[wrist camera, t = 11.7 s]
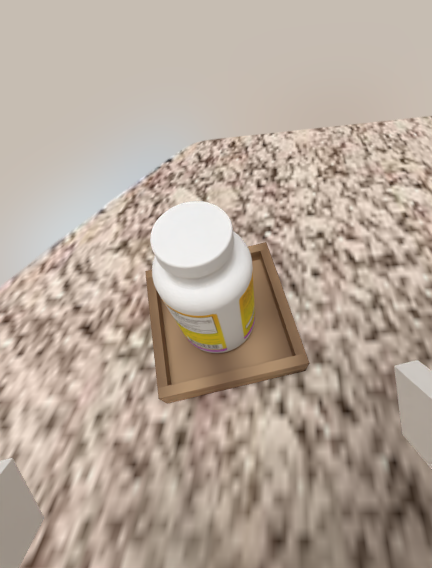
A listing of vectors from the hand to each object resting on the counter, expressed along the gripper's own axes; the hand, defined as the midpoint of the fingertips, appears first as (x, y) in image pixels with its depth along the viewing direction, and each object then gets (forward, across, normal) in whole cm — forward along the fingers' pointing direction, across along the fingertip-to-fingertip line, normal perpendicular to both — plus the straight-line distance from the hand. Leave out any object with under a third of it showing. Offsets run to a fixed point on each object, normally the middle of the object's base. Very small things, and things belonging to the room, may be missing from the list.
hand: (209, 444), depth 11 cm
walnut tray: (+19, 0, -4) cm, 19 cm away
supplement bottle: (+18, 0, -3) cm, 18 cm away
